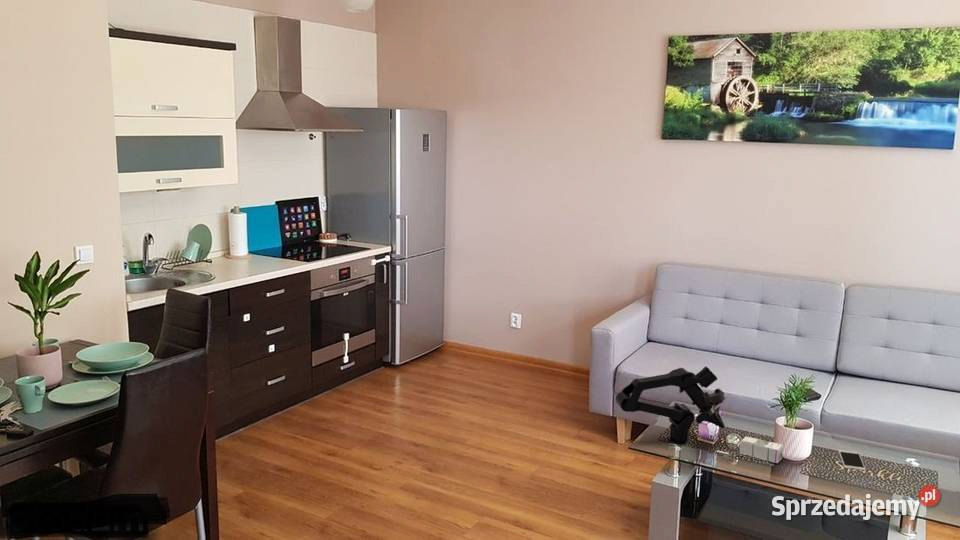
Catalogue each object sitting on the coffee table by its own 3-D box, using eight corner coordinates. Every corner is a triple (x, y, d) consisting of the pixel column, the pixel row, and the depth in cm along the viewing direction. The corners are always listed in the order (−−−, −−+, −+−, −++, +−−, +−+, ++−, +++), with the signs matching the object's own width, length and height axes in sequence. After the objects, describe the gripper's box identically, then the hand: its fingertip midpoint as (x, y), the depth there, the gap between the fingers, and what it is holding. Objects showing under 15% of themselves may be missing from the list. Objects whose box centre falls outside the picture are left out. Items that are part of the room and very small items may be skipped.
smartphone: (858, 453, 293) (858, 451, 293) (865, 471, 279) (865, 469, 279) (838, 451, 295) (838, 449, 295) (844, 469, 281) (844, 466, 281)
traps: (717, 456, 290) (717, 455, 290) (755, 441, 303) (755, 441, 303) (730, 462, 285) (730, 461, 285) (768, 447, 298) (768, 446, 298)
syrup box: (739, 454, 292) (778, 464, 283) (740, 440, 291) (779, 450, 282) (744, 449, 296) (782, 458, 288) (745, 434, 295) (783, 444, 286)
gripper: (705, 392, 288) (733, 425, 285) (719, 377, 303) (745, 408, 300) (684, 407, 294) (711, 440, 290) (698, 392, 309) (724, 423, 306)
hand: (723, 427), depth 296 cm, fingers closed
